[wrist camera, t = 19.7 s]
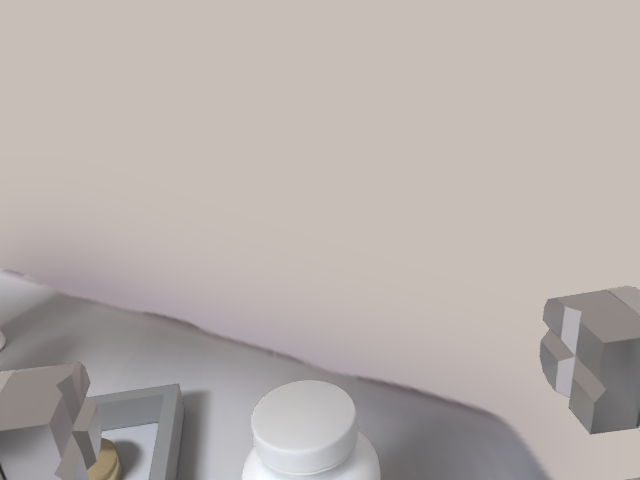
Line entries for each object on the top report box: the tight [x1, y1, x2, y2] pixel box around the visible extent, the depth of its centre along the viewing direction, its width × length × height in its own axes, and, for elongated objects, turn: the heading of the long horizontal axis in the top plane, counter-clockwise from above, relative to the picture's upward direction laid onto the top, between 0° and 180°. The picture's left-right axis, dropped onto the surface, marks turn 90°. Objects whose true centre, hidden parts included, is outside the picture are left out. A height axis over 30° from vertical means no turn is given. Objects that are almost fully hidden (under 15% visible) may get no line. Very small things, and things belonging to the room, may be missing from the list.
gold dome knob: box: [87, 438, 122, 480], centre depth 39 cm, size 4×4×2 cm
